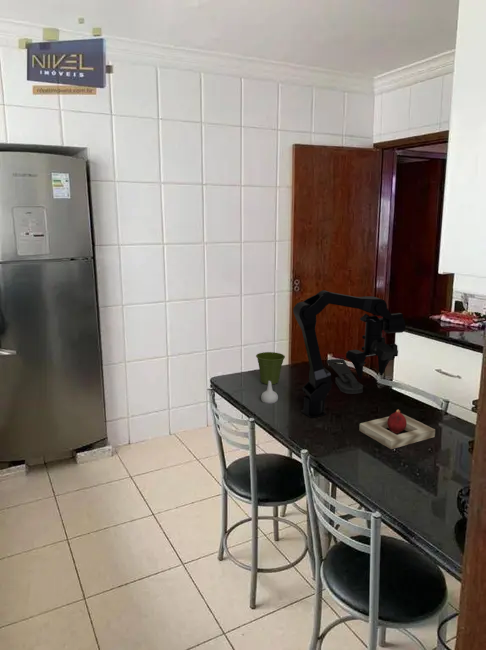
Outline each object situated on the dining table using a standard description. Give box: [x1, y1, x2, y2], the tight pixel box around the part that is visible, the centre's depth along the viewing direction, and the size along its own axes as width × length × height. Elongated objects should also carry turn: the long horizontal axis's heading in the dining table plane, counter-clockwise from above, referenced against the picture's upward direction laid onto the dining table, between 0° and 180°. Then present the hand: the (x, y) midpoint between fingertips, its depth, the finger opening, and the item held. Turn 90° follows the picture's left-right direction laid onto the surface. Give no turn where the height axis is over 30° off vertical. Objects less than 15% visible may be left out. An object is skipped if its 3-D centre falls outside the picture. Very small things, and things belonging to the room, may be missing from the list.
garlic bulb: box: [260, 381, 279, 405], centre depth 178 cm, size 6×6×8 cm
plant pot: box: [255, 351, 286, 385], centre depth 198 cm, size 12×12×11 cm
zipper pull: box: [326, 358, 364, 395], centre depth 198 cm, size 9×7×25 cm
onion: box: [387, 409, 407, 435], centre depth 151 cm, size 6×6×8 cm
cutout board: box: [358, 412, 436, 450], centre depth 151 cm, size 18×14×2 cm
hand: (370, 377), depth 168 cm, fingers open, 9 cm apart
